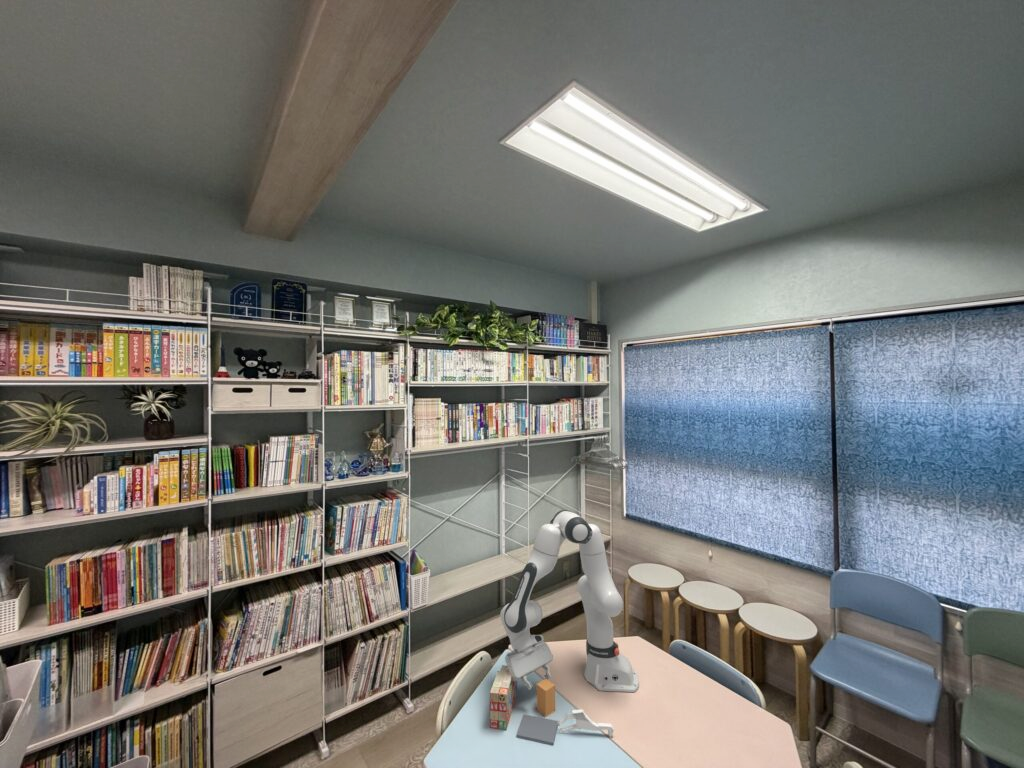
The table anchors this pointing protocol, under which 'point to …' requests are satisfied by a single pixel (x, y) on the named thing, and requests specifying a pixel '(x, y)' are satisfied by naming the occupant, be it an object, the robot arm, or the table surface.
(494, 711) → the stack of blocks
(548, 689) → the orange block
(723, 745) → the table surface
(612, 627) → the robot arm
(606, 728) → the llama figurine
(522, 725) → the slate mat
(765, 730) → the table surface
